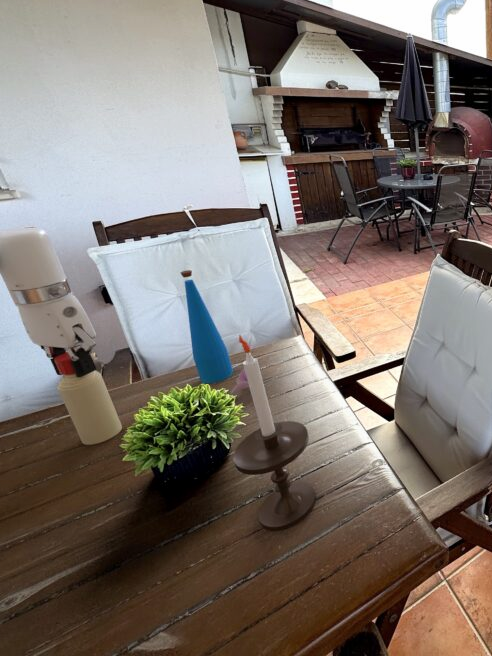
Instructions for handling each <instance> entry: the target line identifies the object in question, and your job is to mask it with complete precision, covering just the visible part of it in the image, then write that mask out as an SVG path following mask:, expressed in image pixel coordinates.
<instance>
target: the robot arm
mask: <svg viewBox="0 0 492 656" xmlns="http://www.w3.org/2000/svg"><path fill="white" fill-rule="evenodd" d="M60 261H61V260H60V259H59V257H58V254H57V252H56V248H55V246H54V244H53V242H52V239H51V237H50V235H49V233H48V232H47V231H46V230H45V229H42V228H40V227H33V226H32V227H31V226H29V227H17V228H7V229H3V230H0V276H1V278H2V280H3V282H4V285H5V286H6V289H7V291H8V293H9V295H10V297H11V299H12V301H13V303H14V306H15V307H17V309H18V313H19V316H20V319H21V322H22V324H23V326H24V329H25V331H26V333H27V336H28V337H29V339H30V341H31V342H32V343H33V344H34V345H36V346H39V347H40V349H41V350H43V351H44V352H45V356H46V358H47V359H49V360H50V363H51V364H52V367H53V369H54V371H55V373H56V375H57V376H62V375H61V374H60V373H59V371H58V368H57V366H56V364H55V361H54V359H55V358H56V357H57V356H59V355H61V354H64V353H67V352H68V354H69V355H70V357H71V359H72V361H70V363H71V365H72V368H73V370H74V372H75V374H76V377H79V378H81V377H83V376H85V375H87V374H89V373H91V372H93V371H97V367H96V364H95V362H94V359H93V357H92V354H93V352H92V350H93V348H95V347H96V346H97V343H96V342H95V340H93V339H95V338H96V337H97V333H96V331H95V328H94V326H93V324H92V322H91V319H90V318H89V316H88V314H87V312H86V311H85V308H84V307H83V305H82V303H81V302H80V301H79V299H78V298H77V297H76V295H74V294H73V290H72V288H71V285H70V283H69V281H68V278H67V275H66V274H65V271H64V268H63V266H62V263H61V262H60ZM76 341H77V342H76ZM77 347H79V348H78V349H76V350H75V348H77ZM75 351H76V352H75Z"/></svg>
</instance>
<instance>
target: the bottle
mask: <svg viewBox="0 0 492 656" xmlns="http://www.w3.org/2000/svg"><path fill="white" fill-rule="evenodd" d="M192 274H193V270H190V269H188V270H183V271H181V272H180V275H181V276H182V277H183V278H189V277H192V276H193V275H192ZM184 289H185V297H186V306H187V315H188V322H189V331H190V340H191V349H192V351H191V352H192V358H193V361H194V365H195V367H196V371H197V373H198V378H199V380H200V382H201V383H202V384H206V383H210V384H216V383H219V382H222V381H224V380H226V379H228V378H229V377H231V375H233V373H234V369H233V366H232V361H231V359H230V355H229V352H228V351H229V350H228V348H227V346H226V344H225V342H224V340H223V338H222V336H221V334H220V331H219V330H218V328H217V326H216V324H215V322H214V320H213V318H212V316H211V314H210V312H209V310H208V308H207V306H206V303H205V302H204V300H203V298H202V296H201V294H200V292H199V289H198V288H197V286H196V284H195V281H194V280H193V279H186V280H184Z"/></svg>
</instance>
